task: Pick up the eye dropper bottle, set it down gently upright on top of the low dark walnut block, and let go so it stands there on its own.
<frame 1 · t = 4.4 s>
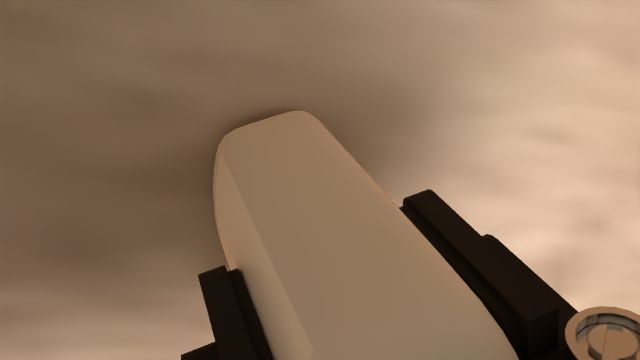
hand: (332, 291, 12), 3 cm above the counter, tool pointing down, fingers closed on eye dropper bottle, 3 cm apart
eye dropper bottle: (283, 210, 15), on the counter, touching gripper
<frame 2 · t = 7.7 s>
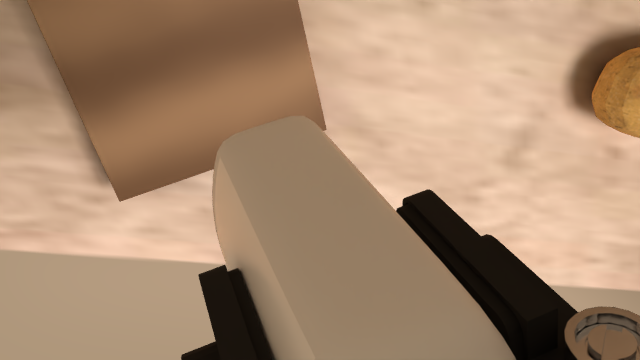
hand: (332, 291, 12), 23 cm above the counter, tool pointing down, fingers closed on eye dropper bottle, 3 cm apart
walnut block: (178, 30, 32), on the counter
eye dropper bottle: (282, 214, 15), point 20 cm above the counter, touching gripper
potato: (628, 78, 43), on the counter
when the fingers open (7 cm above the counter, at t = 11.4 s): eye dropper bottle drops 1 cm, point 2 cm above the counter.
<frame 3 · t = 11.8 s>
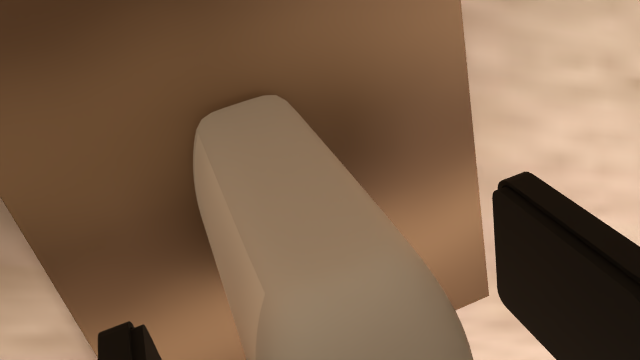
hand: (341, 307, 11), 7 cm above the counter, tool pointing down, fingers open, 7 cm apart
walnut block: (248, 145, 18), on the counter
eye dropper bottle: (261, 189, 16), point 2 cm above the counter
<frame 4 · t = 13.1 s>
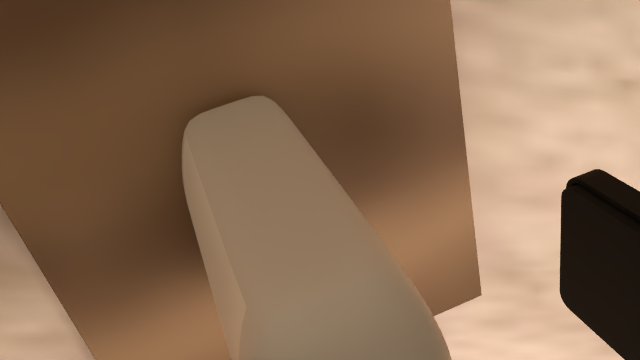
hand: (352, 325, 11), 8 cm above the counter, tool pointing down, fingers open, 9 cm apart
walnut block: (243, 147, 18), on the counter, touching eye dropper bottle
eye dropper bottle: (251, 187, 16), point 2 cm above the counter, touching walnut block
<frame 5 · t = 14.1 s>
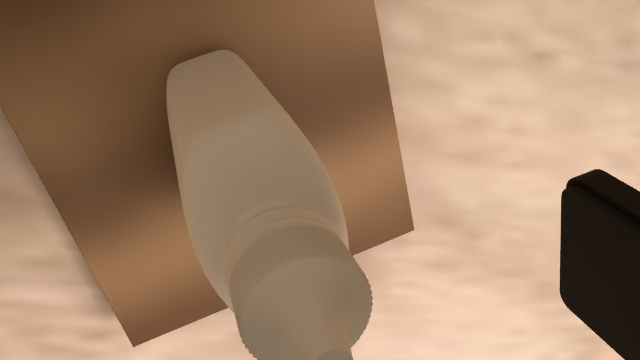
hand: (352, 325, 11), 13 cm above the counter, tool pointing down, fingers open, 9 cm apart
walnut block: (211, 103, 22), on the counter
eye dropper bottle: (226, 131, 20), point 2 cm above the counter
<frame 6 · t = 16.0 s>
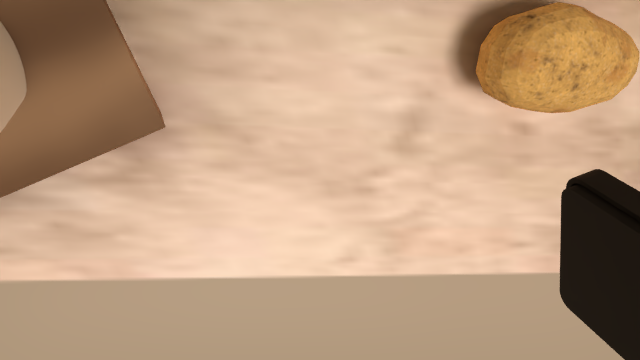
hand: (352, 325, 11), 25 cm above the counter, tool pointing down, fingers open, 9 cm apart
potato: (524, 47, 40), on the counter
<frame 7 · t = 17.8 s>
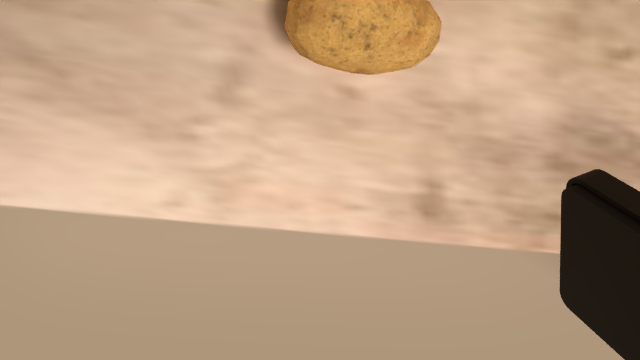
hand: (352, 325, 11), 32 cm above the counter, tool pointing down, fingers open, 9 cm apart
potato: (346, 13, 43), on the counter
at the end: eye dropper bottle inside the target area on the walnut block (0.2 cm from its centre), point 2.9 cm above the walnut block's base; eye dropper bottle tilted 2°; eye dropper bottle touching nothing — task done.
